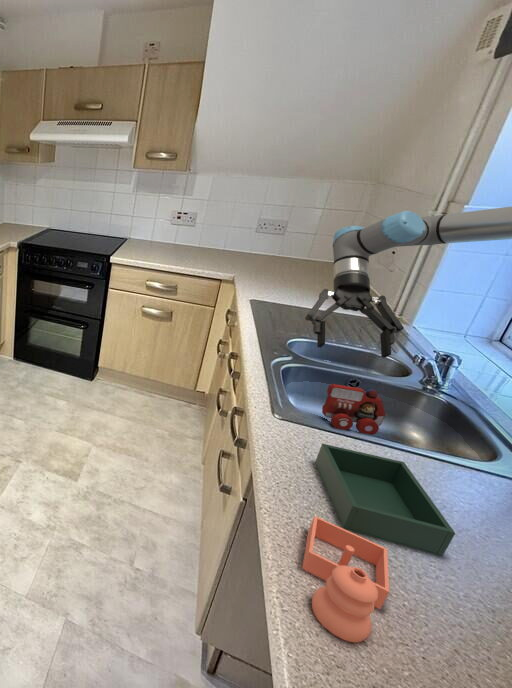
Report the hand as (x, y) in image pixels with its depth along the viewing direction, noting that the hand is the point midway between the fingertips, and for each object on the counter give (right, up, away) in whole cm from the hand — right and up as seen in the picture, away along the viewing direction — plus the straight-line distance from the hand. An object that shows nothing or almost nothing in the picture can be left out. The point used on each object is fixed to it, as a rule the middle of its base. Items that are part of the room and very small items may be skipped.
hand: (353, 350), depth 105 cm
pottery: (-38, -32, -42) cm, 65 cm away
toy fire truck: (-4, -18, -3) cm, 19 cm away
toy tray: (-20, -27, -27) cm, 43 cm away
